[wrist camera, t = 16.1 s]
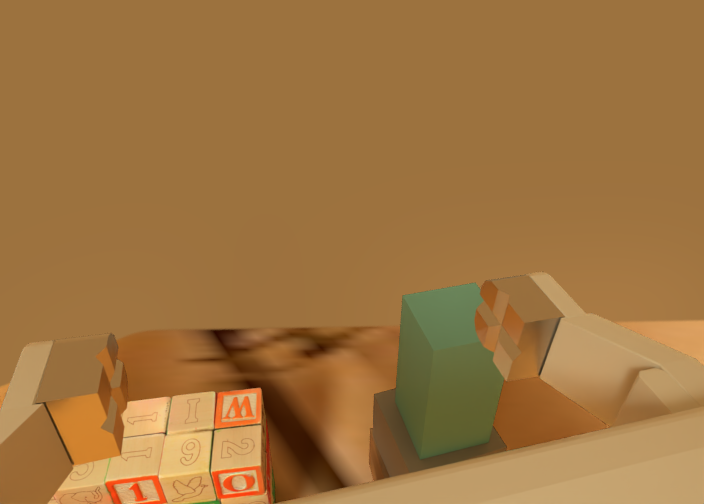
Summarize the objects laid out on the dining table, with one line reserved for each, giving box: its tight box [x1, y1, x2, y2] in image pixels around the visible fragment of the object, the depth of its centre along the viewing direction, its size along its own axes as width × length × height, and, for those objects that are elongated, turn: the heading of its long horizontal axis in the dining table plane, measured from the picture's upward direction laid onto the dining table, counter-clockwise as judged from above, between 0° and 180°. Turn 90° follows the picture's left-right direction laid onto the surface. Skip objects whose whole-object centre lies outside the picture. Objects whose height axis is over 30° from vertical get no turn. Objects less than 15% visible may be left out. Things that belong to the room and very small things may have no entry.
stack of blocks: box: [48, 388, 275, 504], centre depth 36 cm, size 21×6×12 cm, turn 98°
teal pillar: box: [395, 283, 504, 460], centre depth 33 cm, size 5×5×10 cm
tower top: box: [373, 388, 507, 477], centre depth 38 cm, size 7×7×5 cm
